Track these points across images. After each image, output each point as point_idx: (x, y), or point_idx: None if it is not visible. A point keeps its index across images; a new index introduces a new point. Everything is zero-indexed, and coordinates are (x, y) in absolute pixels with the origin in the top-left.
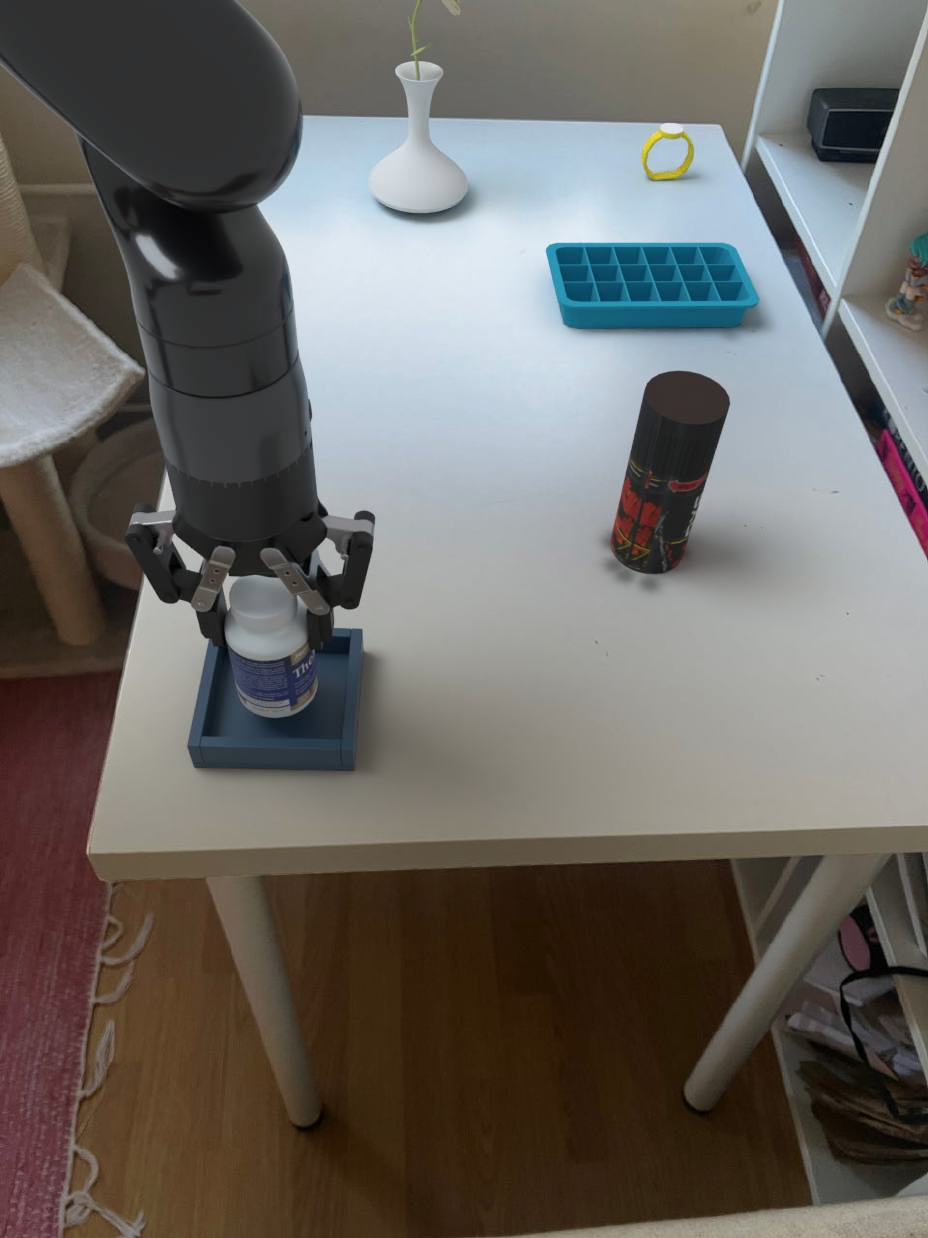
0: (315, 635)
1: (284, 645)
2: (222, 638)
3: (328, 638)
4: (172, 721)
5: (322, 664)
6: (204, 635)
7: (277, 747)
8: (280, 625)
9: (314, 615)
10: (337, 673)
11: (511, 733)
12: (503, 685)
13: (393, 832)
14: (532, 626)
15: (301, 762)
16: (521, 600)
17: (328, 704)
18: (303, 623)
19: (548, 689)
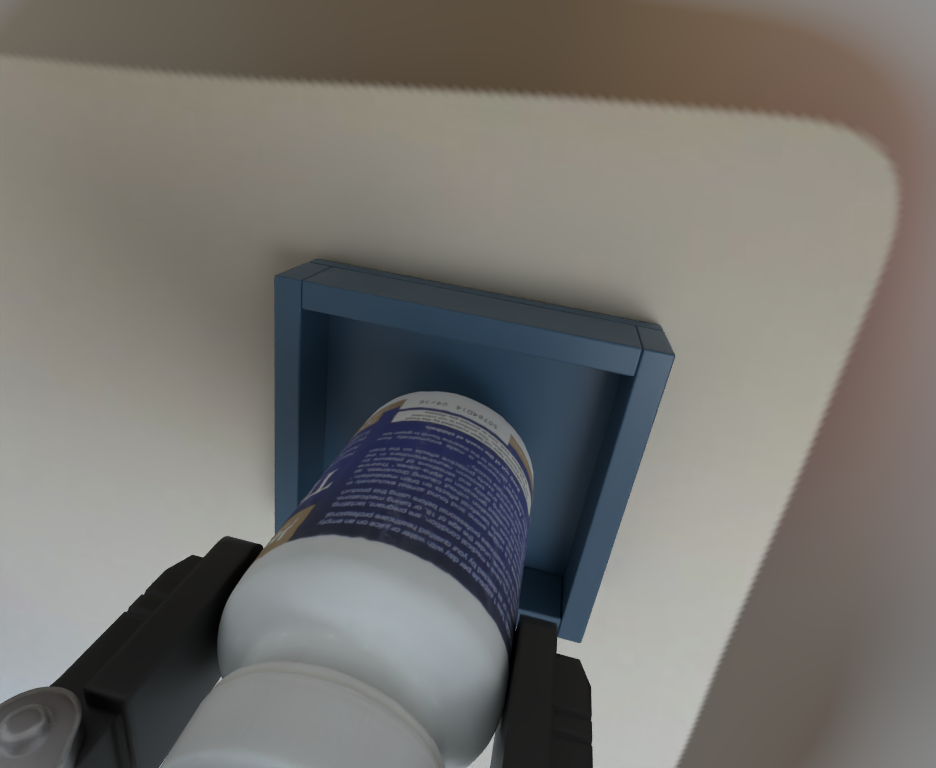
0: (189, 592)
1: (276, 583)
2: (517, 652)
3: (180, 569)
4: (693, 446)
5: None
6: (580, 675)
7: (447, 311)
8: (240, 679)
9: (95, 690)
10: None
11: (36, 295)
12: (65, 398)
13: (229, 84)
14: (37, 500)
15: (413, 284)
16: (62, 549)
17: (362, 418)
18: (222, 645)
19: None
